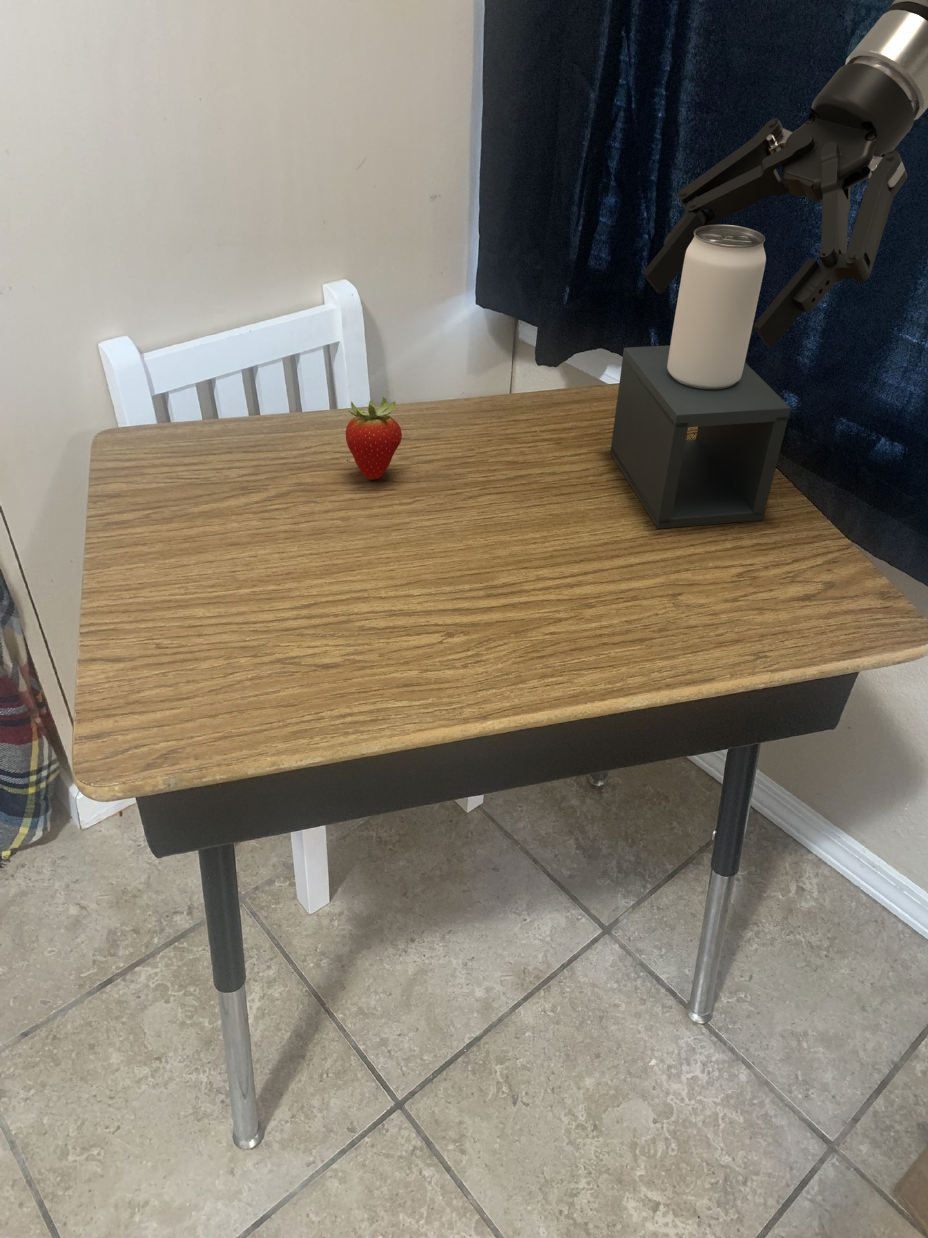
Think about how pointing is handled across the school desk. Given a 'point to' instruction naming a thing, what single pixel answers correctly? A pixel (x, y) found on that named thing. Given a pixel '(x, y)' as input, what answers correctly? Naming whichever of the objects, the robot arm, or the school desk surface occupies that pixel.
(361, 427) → the fruit
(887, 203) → the robot arm
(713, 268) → the can
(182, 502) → the school desk surface
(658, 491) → the shelf
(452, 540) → the school desk surface
